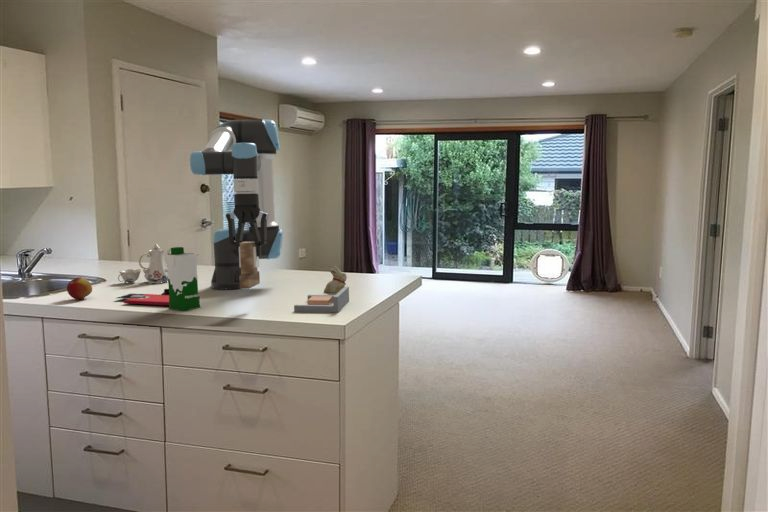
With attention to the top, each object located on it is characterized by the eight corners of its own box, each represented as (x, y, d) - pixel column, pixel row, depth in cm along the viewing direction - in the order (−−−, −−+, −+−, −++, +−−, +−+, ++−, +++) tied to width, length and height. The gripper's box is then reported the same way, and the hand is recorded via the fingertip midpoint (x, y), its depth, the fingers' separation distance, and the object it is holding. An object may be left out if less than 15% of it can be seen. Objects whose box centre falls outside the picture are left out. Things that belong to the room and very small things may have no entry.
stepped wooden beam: (238, 288, 189) (236, 243, 187) (249, 283, 198) (247, 240, 197) (250, 288, 188) (248, 243, 186) (261, 283, 198) (259, 240, 196)
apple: (68, 298, 220) (66, 276, 218) (93, 296, 223) (91, 275, 222) (67, 302, 213) (65, 279, 212) (92, 300, 216) (90, 278, 215)
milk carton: (186, 304, 207) (183, 246, 204) (204, 307, 202) (201, 247, 199) (164, 309, 199) (161, 248, 197) (183, 312, 194) (179, 250, 192)
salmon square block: (307, 309, 198) (307, 300, 197) (312, 304, 205) (312, 296, 204) (328, 309, 197) (328, 300, 197) (332, 305, 204) (332, 296, 204)
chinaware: (173, 278, 271) (169, 241, 270) (196, 278, 261) (191, 239, 260) (113, 288, 249) (108, 248, 248) (135, 288, 239) (130, 246, 237)
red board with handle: (134, 295, 224) (105, 303, 209) (133, 287, 223) (104, 295, 209) (206, 298, 215) (180, 307, 201) (205, 290, 215) (180, 298, 201)
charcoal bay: (294, 311, 193) (293, 296, 192) (308, 300, 210) (308, 286, 210) (338, 312, 191) (337, 297, 190) (349, 301, 208) (348, 286, 208)
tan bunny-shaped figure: (343, 293, 223) (343, 266, 221) (323, 292, 224) (322, 266, 223) (347, 290, 228) (346, 264, 227) (327, 289, 230) (326, 263, 228)
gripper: (215, 193, 187) (218, 268, 190) (268, 192, 185) (271, 268, 188) (224, 192, 194) (228, 265, 197) (276, 192, 192) (278, 265, 195)
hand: (249, 266), depth 193 cm, fingers closed on stepped wooden beam, 4 cm apart
